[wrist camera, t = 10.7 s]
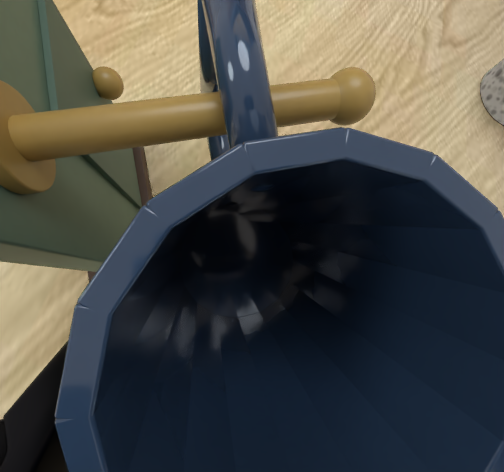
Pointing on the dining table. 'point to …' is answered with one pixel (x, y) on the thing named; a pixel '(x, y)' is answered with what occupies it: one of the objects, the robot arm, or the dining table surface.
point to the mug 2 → (494, 92)
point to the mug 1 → (291, 304)
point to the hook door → (104, 138)
